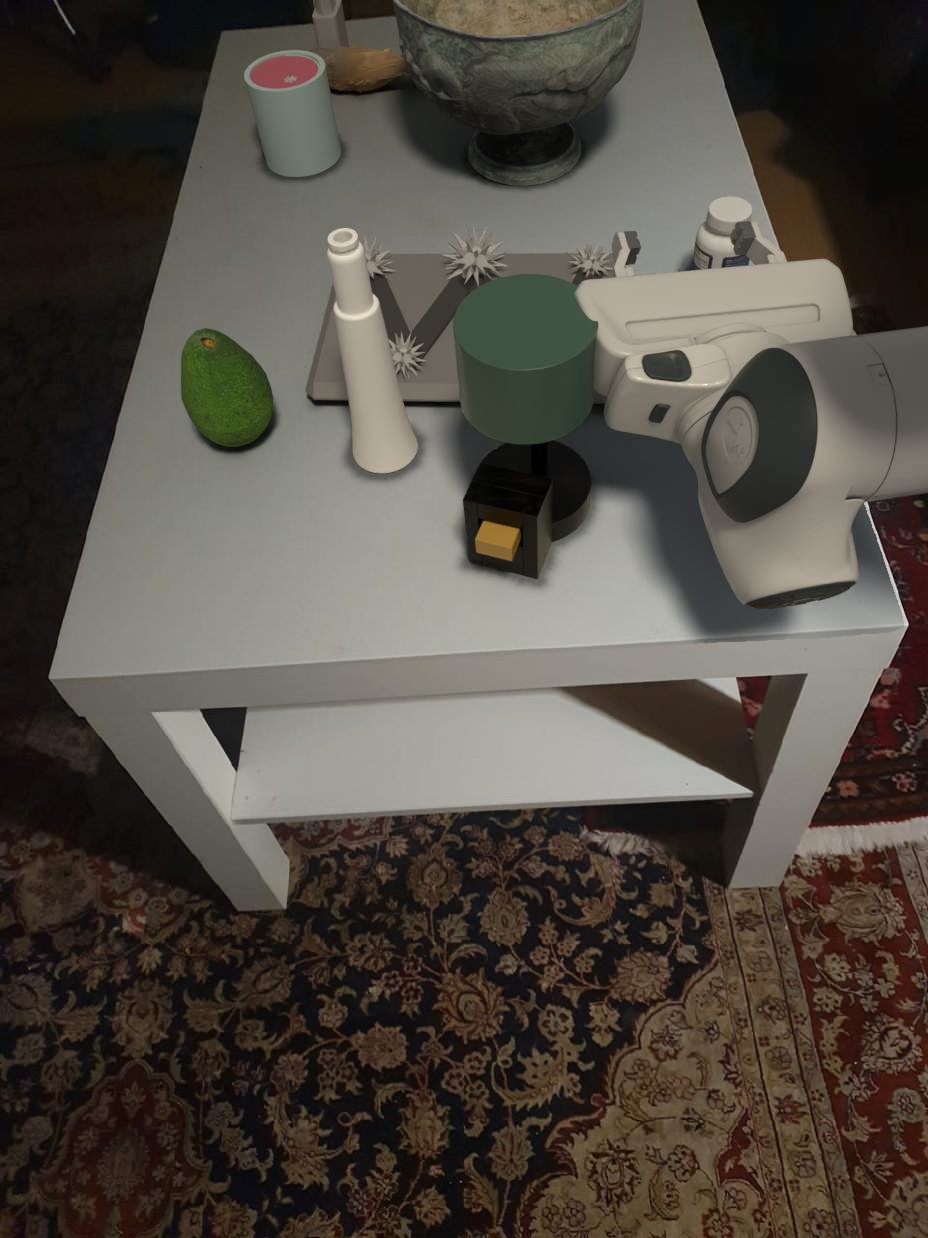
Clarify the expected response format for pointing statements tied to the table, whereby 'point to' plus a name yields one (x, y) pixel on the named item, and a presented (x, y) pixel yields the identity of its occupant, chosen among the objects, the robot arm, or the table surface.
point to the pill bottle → (720, 234)
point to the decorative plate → (436, 310)
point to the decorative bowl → (518, 73)
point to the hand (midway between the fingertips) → (683, 231)
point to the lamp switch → (498, 540)
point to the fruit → (224, 389)
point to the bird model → (360, 67)
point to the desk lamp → (526, 410)
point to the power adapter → (330, 24)
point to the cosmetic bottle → (367, 362)
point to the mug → (293, 112)
